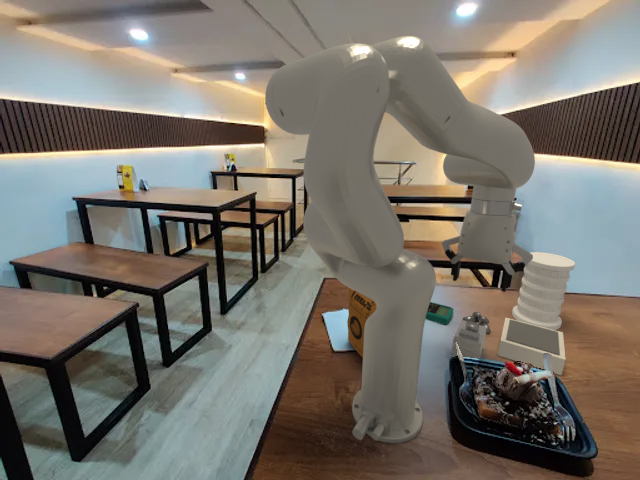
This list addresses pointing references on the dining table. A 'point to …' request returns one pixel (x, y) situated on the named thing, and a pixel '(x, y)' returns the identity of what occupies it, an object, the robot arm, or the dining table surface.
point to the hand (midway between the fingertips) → (478, 283)
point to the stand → (532, 344)
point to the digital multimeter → (439, 313)
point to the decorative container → (543, 290)
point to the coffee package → (358, 318)
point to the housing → (469, 339)
